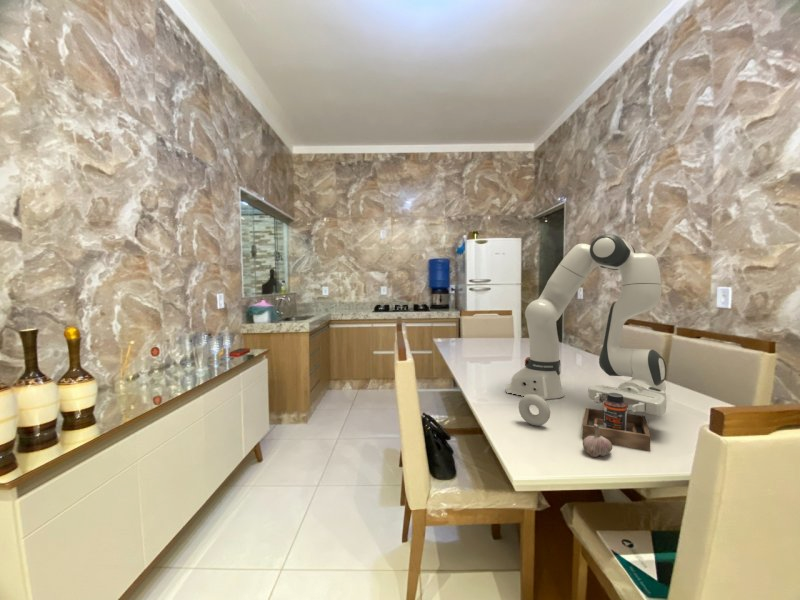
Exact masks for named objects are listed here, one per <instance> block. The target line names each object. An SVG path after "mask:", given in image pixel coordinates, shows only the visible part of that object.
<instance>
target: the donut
mask: <svg viewBox="0 0 800 600" xmlns="http://www.w3.org/2000/svg"><path fill="white" fill-rule="evenodd" d="M531 406H534V407H536V408H537V410H538V414H534V413H532V412H531V410H530V407H531ZM518 411H519V414H520V417H521V418H522V419H523V420H524V421H525V422H526V423H527V424H529V425H532V426H534V425H535V427H536V426H537V427H540V426H543V425H545V424H546V423H548V422H549V419H550V418H551V410H550V407H549V404H548V403H547V401H546V400H544V399H543V398H541V397H540V396H537V395H535V394H529V395H526V396H524V397H523V396H522V397H521V398H520V400H519V401H518Z"/></svg>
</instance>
